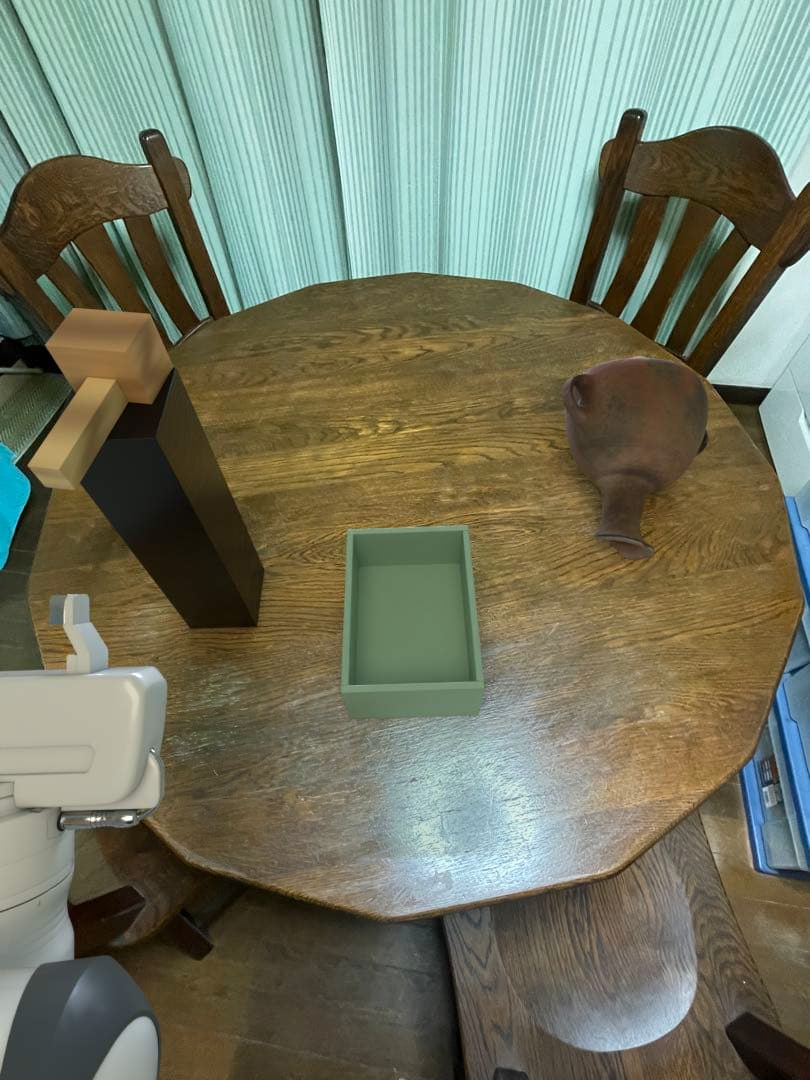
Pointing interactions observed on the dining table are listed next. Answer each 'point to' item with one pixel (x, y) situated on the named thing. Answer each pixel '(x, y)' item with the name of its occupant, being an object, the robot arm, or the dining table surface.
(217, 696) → the dining table surface
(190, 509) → the stand
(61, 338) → the mallet
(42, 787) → the robot arm
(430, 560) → the tray
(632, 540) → the jug
